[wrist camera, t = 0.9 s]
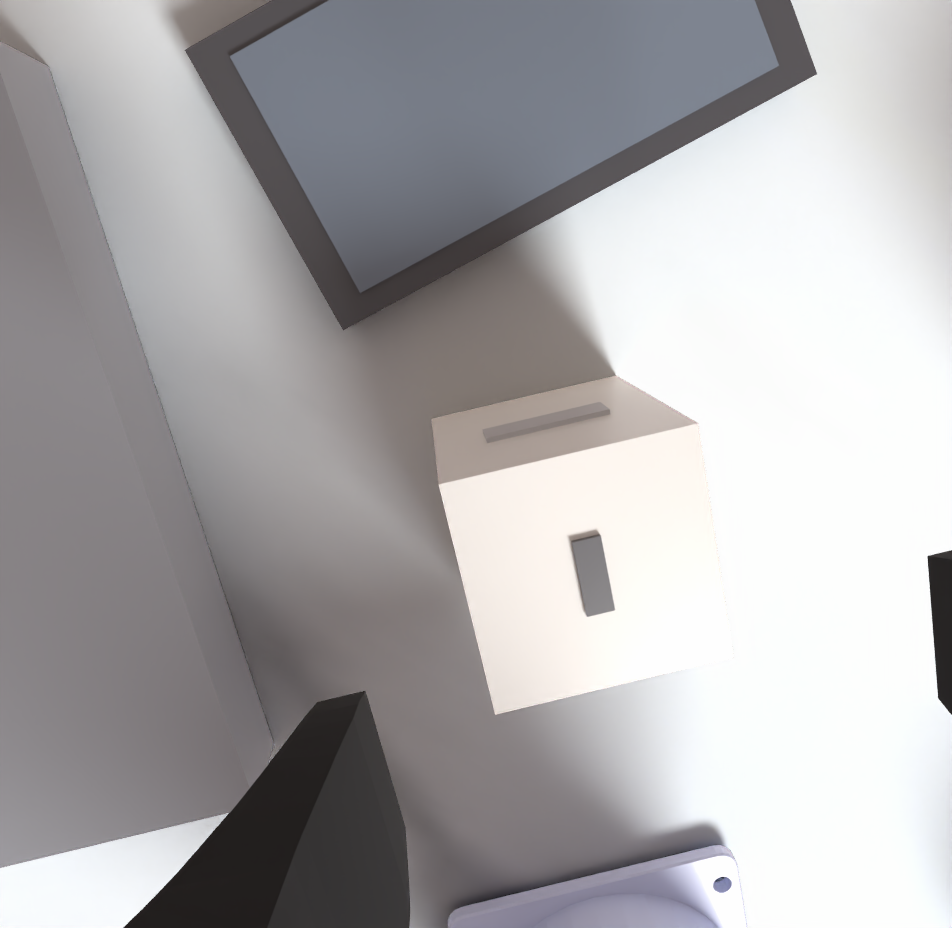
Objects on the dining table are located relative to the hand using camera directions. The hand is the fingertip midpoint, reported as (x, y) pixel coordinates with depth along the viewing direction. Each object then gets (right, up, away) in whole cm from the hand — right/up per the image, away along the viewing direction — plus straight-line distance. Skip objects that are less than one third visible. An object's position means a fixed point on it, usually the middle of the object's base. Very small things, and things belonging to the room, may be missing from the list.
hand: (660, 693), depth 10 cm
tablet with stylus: (-1, +12, +6) cm, 14 cm away
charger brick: (-1, +2, +9) cm, 10 cm away
